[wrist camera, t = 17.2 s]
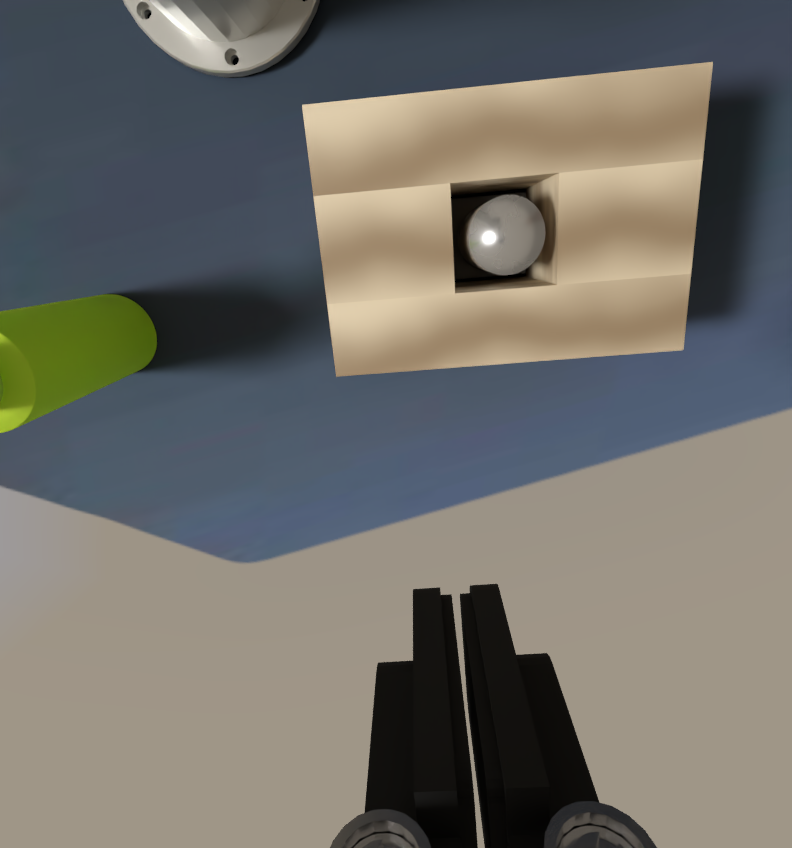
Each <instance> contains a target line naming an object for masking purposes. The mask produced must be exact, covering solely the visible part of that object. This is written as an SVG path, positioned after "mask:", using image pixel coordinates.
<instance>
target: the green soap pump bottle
mask: <svg viewBox="0 0 792 848" xmlns="http://www.w3.org/2000/svg"><path fill="white" fill-rule="evenodd" d="M156 347H157V335H156V330H155V327H154V325H153V322H152V320H151V319H150V317H149V316H148V314H147V313H146V312H145V310H144V309H143V308H142V307H140V306H139V305H138V304H137V303H135V302H134V301H132V300H130V299H128V298H126V297H124V296H120V295H115V294H104V295H98V296H92V297H86V298H80V299H74V300H68V301H62V302H55V303H49V304H43V305H37V306H31V307H25V308H19V309H13V310H7V311H1V312H0V433H3V432H7V431H10V430H13V429H15V428H17V427H19V426H21V425H23V424H26V423H28V422H30V421H32V420H34V419H36V418H38V417H41V416H43V415H45V414H47V413H49V412H51V411H53V410H56V409H58V408H60V407H62V406H64V405H66V404H68V403H71V402H73V401H75V400H77V399H79V398H81V397H83V396H86V395H88V394H90V393H92V392H94V391H96V390H98V389H101V388H103V387H105V386H107V385H109V384H111V383H113V382H115V381H118V380H120V379H122V378H124V377H126V376H128V375H130V374H133V373H135V372H137V371H139V370H141V369H143V368H144V367H145V366H147V365H148V364H149V362H150V361H151V360H152V358H153V356H154V354H155V351H156Z"/></svg>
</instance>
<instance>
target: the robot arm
mask: <svg viewBox="0 0 792 848" xmlns="http://www.w3.org/2000/svg"><path fill="white" fill-rule="evenodd" d="M123 1H124V4H125V6H126V7H127V9H128V10H129V12H130V13H131V15H132V16H133V18H134V19H135V21H136V22H137V24H138V25H139V27H140V28H141V29H142V30H143V31H144V32H145V33H146V34H147V35H148V36H149V38H150V39H151V40H152V41H153V42H154V43H155V44H156V45H157V46H159V47H160V48H161V49H162V50H163V51H165V52H166V53H167V54H168V55H170V56H171V57H173V58H174V59H176V60H177V61H179V62H181V63H182V64H184V65H185V66H187V67H189V68H192V69H194V70H197V71H199V72H202V73H204V74H208V75H214V76H220V77H242V76H247V75H251V74H254V73H257V72H261V71H263V70H265V69H267V68H269V67H271V66H272V65H274V64H276V63H278V62H279V61H280V60H282V59H283V58H284V57H285V56H286V55H287V54H288V53H290V52H291V51H292V50H293V49H294V48H295V47H296V45H297V44H298V43H299V41H300V40H301V39H302V37H303V36H304V35H305V33H306V32H307V30H308V28H309V26H310V24H311V22H312V20H313V18H314V16H315V14H316V12H317V9H318V6H319V2H320V0H307V1H305V2H304V1H302V0H123ZM149 13H151V16H150V18H149V19H148V14H149ZM236 57H237V58H239V61H238V63H237V64H236V65H233V60H234V58H236ZM460 602H461V603H460V604H461V618H462V632H463V645H464V646H463V647H464V660H465V675H466V688H467V702H468V713H469V721H470V729H471V738H472V746H473V754H474V762H475V771H476V778H477V787H478V795H479V803H480V812H481V820H482V828H483V836H484V844H485V848H657V847H656V846H655V844H654V843H653V841H652V840H651V838H650V837H649V836H648V834H647V833H646V831H645V830H644V829H643V828H642V827H641V826H640V825H638V824H637V823H636V822H635V821H634V820H633V819H632V818H631V817H630V816H628V815H627V814H625V813H623V812H621V811H619V810H618V809H616V808H614V807H612V806H609V805H606V804H602V803H599V800H598V797H597V794H596V791H595V788H594V785H593V782H592V780H591V776H590V773H589V770H588V768H587V765H586V762H585V759H584V756H583V753H582V750H581V747H580V744H579V741H578V738H577V735H576V732H575V729H574V726H573V723H572V720H571V717H570V714H569V711H568V708H567V705H566V702H565V699H564V696H563V694H562V691H561V688H560V685H559V682H558V679H557V676H556V673H555V670H554V667H553V664H552V661H551V659H550V657H549V655H548V654H547V653H543V654H524V655H516V653H515V650H514V646H513V641H512V638H511V634H510V630H509V626H508V622H507V618H506V614H505V610H504V606H503V602H502V599H501V595H500V591H499V587H498V585H497V584H488V585H473V586H470V593H467V594H460ZM367 780H368V781H367V792H366V804H365V813H364V814H361V815H358V816H357V817H356V818H354V819H353V820H352V821H350V822H349V823H348V824H346V825H345V826H344V827H343V829H342V830H341V831H340V833H339V834H338V835H337V837H336V838H335V839H334V840H333V842H332V845H331V847H330V848H478V847H477V833H476V819H475V804H474V793H473V781H472V771H471V763H470V754H469V745H468V736H467V727H466V718H465V710H464V701H463V692H462V684H461V675H460V666H459V657H458V648H457V640H456V631H455V622H454V613H453V604H452V596H451V595H440V588H427V589H414V590H413V661H400V662H384V663H378V665H377V672H376V684H375V695H374V708H373V720H372V731H371V744H370V755H369V769H368V779H367Z"/></svg>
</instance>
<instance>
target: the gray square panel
mask: <svg viewBox="0 0 792 848" xmlns="http://www.w3.org/2000/svg"><path fill="white" fill-rule="evenodd" d="M502 195H518V196H522V197H524V198H526V192H522V193H511V194H501V195H490V196H479V197H468V198H458V199H451V212H452V235H453V257H454V279H465V278H477V277H489V276H500V275H497V274H494V273H491V272H488V271H485V270H482V269H479V268H477V267H474V266H472V265H471V264H469V263H468V262H467V261H466V260H465V259H464V257H463V256H462V254H461V252H460V250H459V246H458V231H459V228H460V225H461V223H462V221H463V220H464V218H465V217H466V216H467V215H468V214H469V213H470V212H471V211H472V210H474V209H475V208H477V207H479V206H481V205H483V204H484V203H486V202H488V201H490V200H492V199H494V198H496V197H499V196H502ZM524 273H526V269H524V270H523V271H521V272H519V273H516V274H524Z"/></svg>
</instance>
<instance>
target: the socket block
mask: <svg viewBox="0 0 792 848" xmlns="http://www.w3.org/2000/svg"><path fill="white" fill-rule="evenodd" d="M712 67H713V62H707V63H698V64H688V65H679V66H669V67H660V68H650V69H641V70H631V71H621V72H612V73H602V74H593V75H583V76H574V77H564V78H555V79H545V80H536V81H526V82H516V83H507V84H497V85H488V86H478V87H469V88H459V89H450V90H440V91H431V92H421V93H412V94H402V95H392V96H383V97H373V98H364V99H354V100H345V101H335V102H326V103H316V104H307V105H302V109H303V117H304V124H305V132H306V140H307V148H308V156H309V164H310V172H311V180H312V188H313V196H314V204H315V212H316V220H317V227H318V235H319V243H320V251H321V259H322V267H323V275H324V283H325V291H326V299H327V307H328V315H329V323H330V330H331V338H332V346H333V354H334V362H335V370H336V377H337V376H350V375H363V374H376V373H389V372H402V371H415V370H429V369H442V368H455V367H468V366H481V365H494V364H507V363H521V362H534V361H547V360H560V359H573V358H586V357H599V356H612V355H626V354H639V353H652V352H665V351H678V350H683V348H684V338H685V329H686V319H687V309H688V300H689V290H690V280H691V270H692V261H693V251H694V241H695V232H696V222H697V212H698V203H699V193H700V183H701V174H702V164H703V154H704V144H705V135H706V125H707V115H708V106H709V96H710V86H711V77H712ZM518 189H526V199H528V200H529V201H531V202H532V203H533V204H534V205H535V206H536V207H537V208H538V209H539V211H540V212H541V215H542V217H543V220H544V223H545V232H546V233H545V241H544V245H543V248H542V250H541V252H540V254H539V256H538V257H537V259H536V260H535V261H534V262H533V263H532V264H531V265H530V266H529V267H528V268H526V276H524V277H512V278H500V279H489V280H477V281H465V282H455V280H454V257H453V235H452V212H451V196H454V195H465V194H476V193H486V192H497V191H508V190H518Z"/></svg>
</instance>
